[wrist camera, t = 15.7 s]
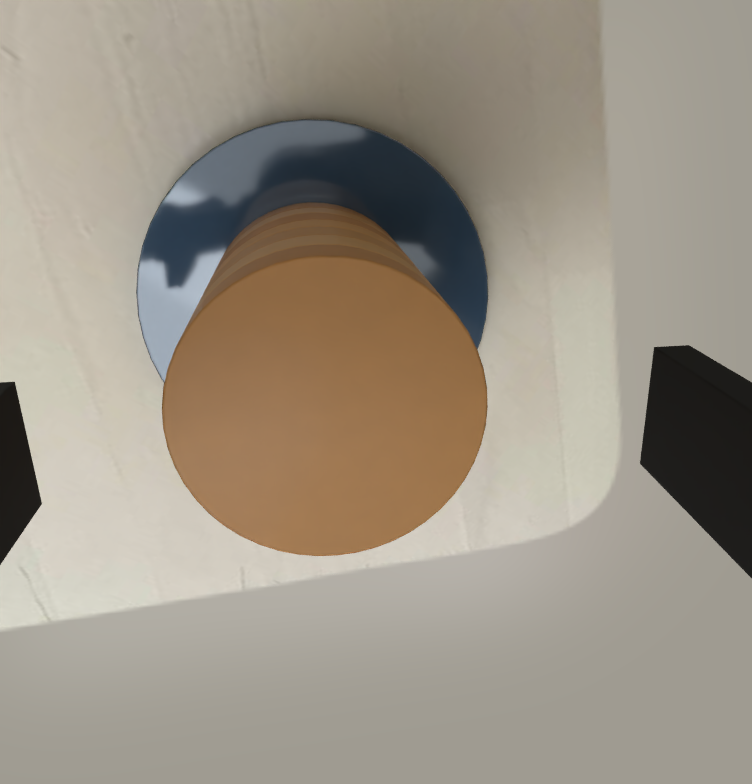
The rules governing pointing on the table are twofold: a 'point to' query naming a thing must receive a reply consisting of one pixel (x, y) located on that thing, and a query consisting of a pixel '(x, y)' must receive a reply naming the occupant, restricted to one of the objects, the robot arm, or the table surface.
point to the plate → (293, 186)
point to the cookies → (322, 387)
